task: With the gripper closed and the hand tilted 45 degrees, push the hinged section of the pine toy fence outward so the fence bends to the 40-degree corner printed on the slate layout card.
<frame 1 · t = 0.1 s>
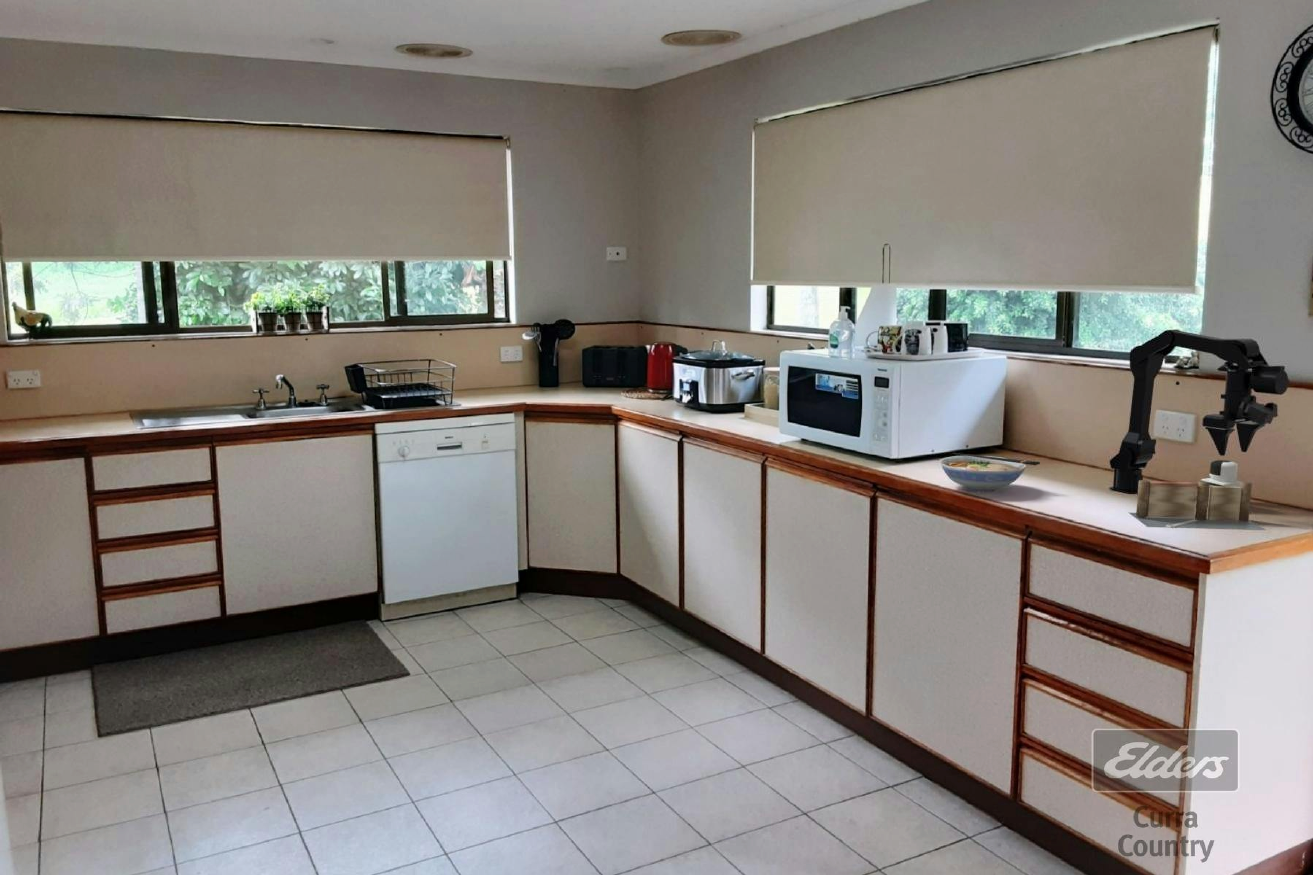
hand: (1233, 453, 253), 15 cm above the counter, tool pointing down, fingers open, 9 cm apart
fence gate: (1166, 499, 247), point 5 cm above the counter, hinge at 0.0°
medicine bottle: (1220, 508, 259), on the counter
fence fixed: (1200, 519, 247), resting on layout card
ramen bowl: (981, 489, 282), on the counter
layout card: (1194, 522, 245), on the counter
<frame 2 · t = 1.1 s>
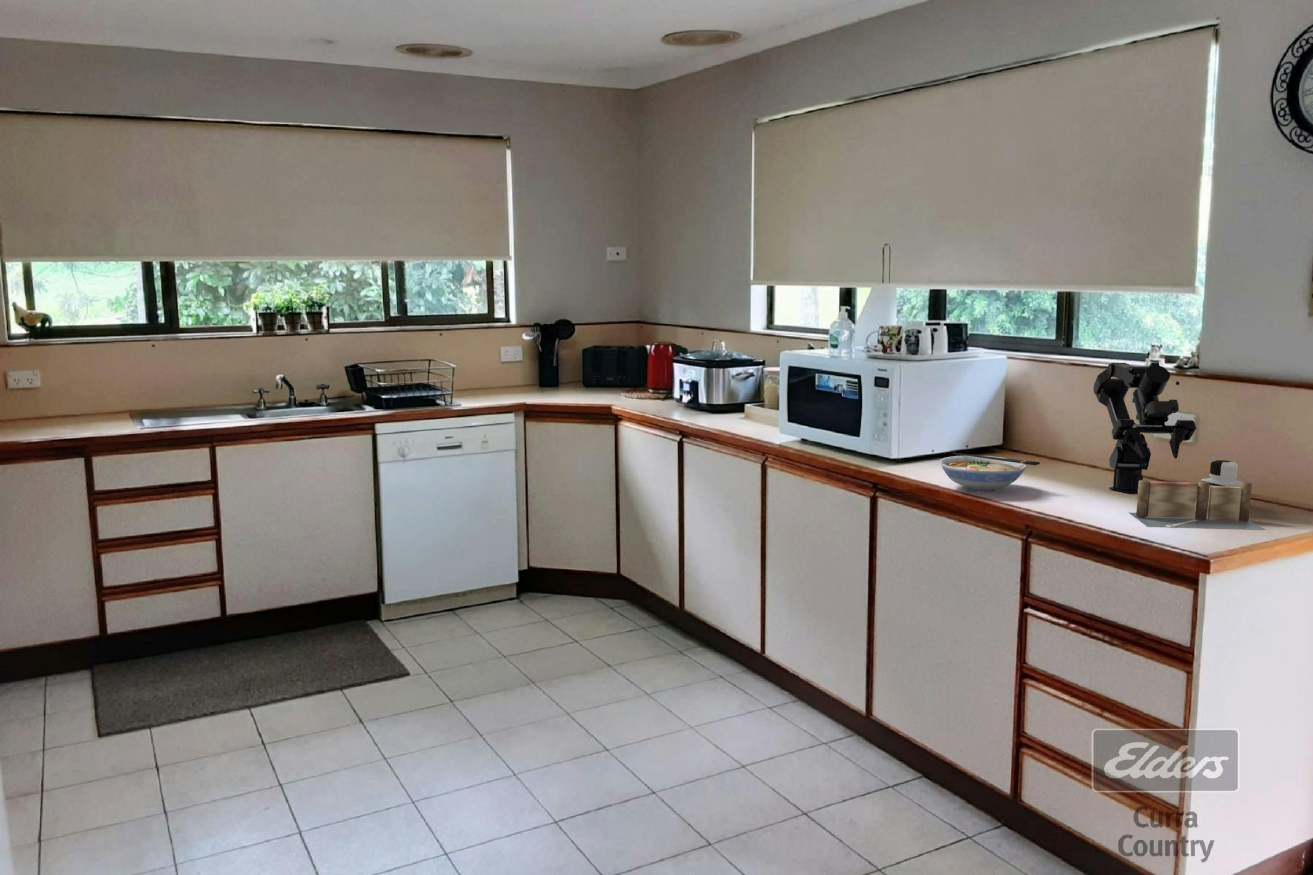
hand: (1159, 457, 255), 13 cm above the counter, tool tilted 45°, fingers open, 7 cm apart
nothing on the counter moved.
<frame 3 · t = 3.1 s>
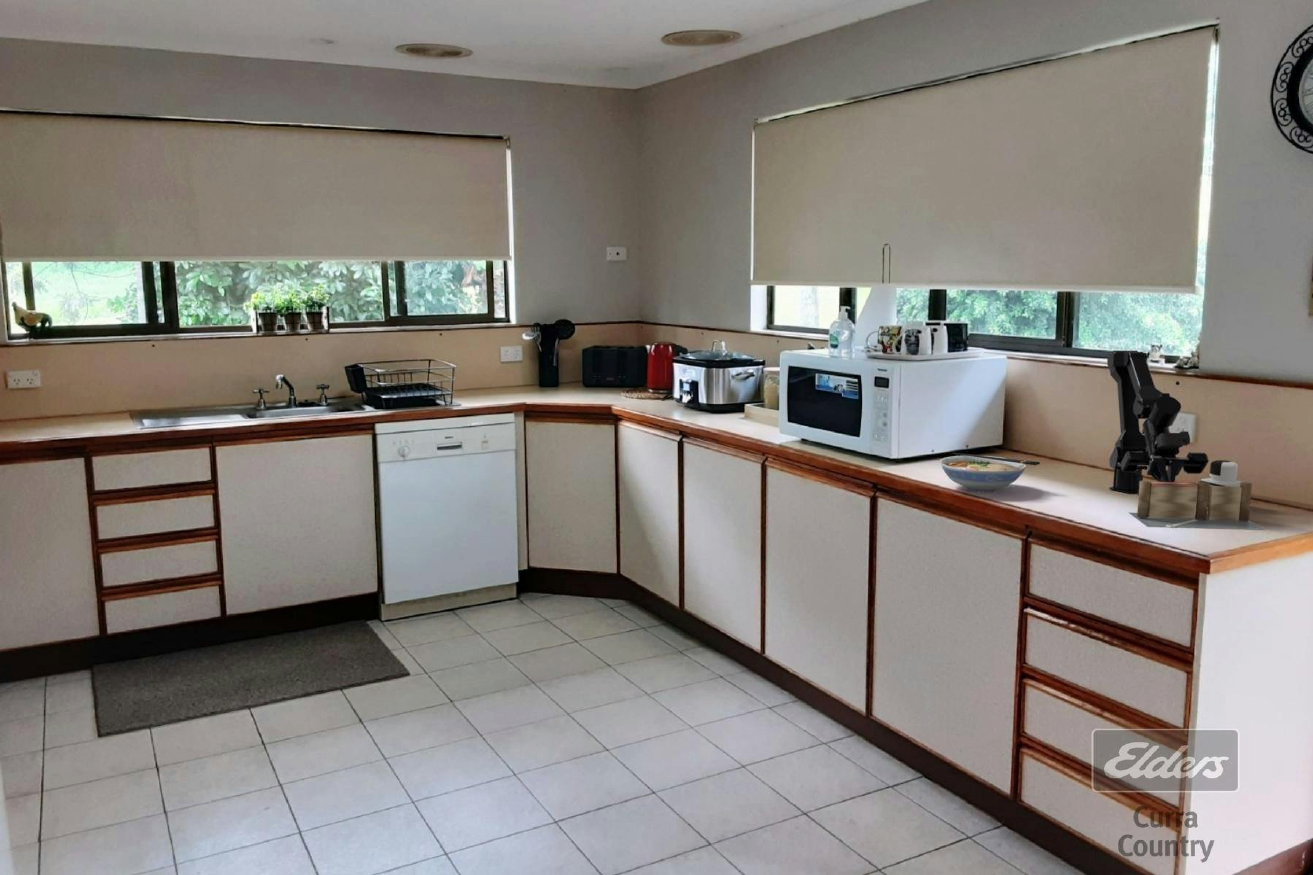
hand: (1170, 491, 247), 7 cm above the counter, tool tilted 45°, fingers closed, pressing on fence gate
fence gate: (1166, 499, 247), point 5 cm above the counter, hinge at 2.8°, touching gripper
everything else where it was.
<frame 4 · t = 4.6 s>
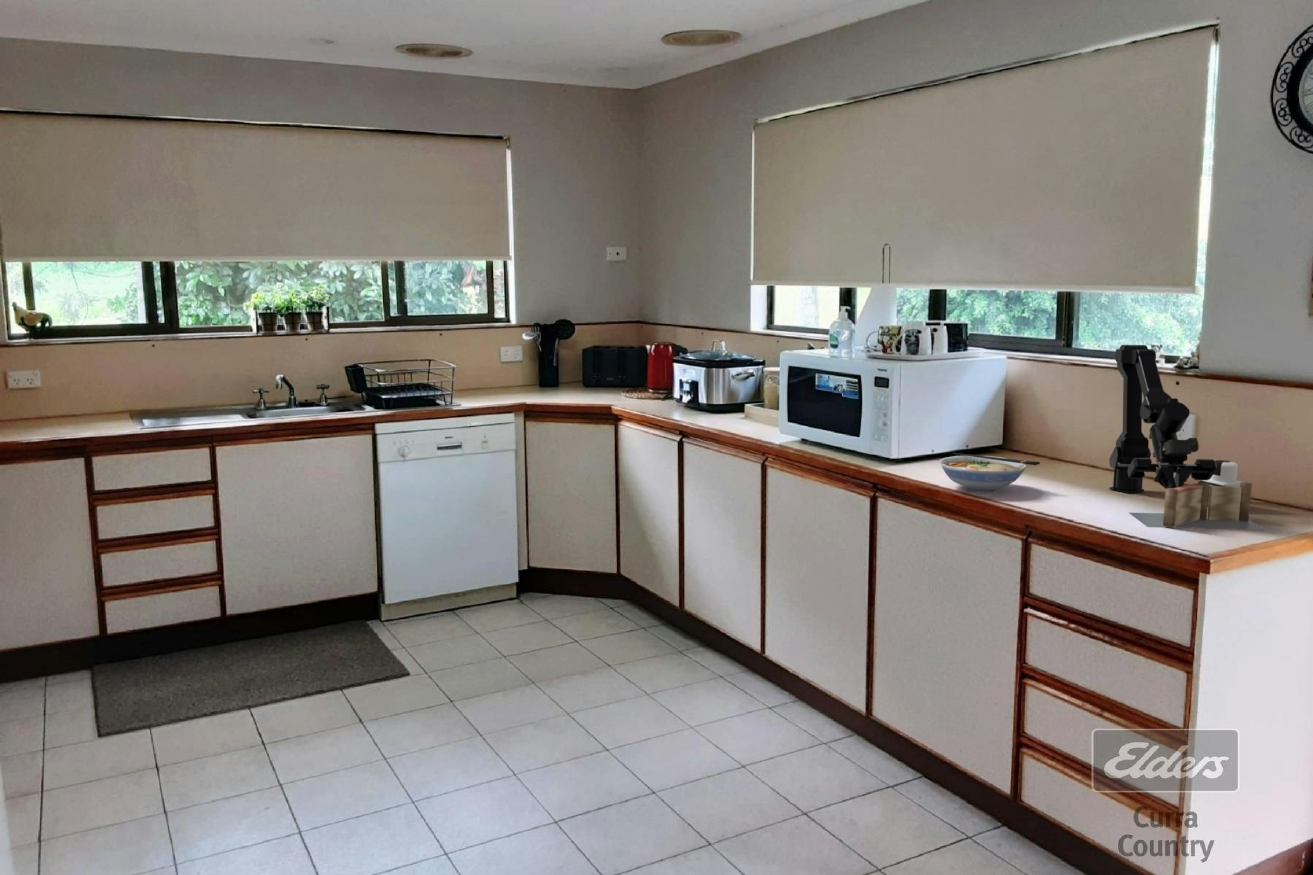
hand: (1178, 499, 242), 6 cm above the counter, tool tilted 45°, fingers closed
fence gate: (1182, 504, 241), point 5 cm above the counter, hinge at 40.5°, touching gripper
everything else where it was.
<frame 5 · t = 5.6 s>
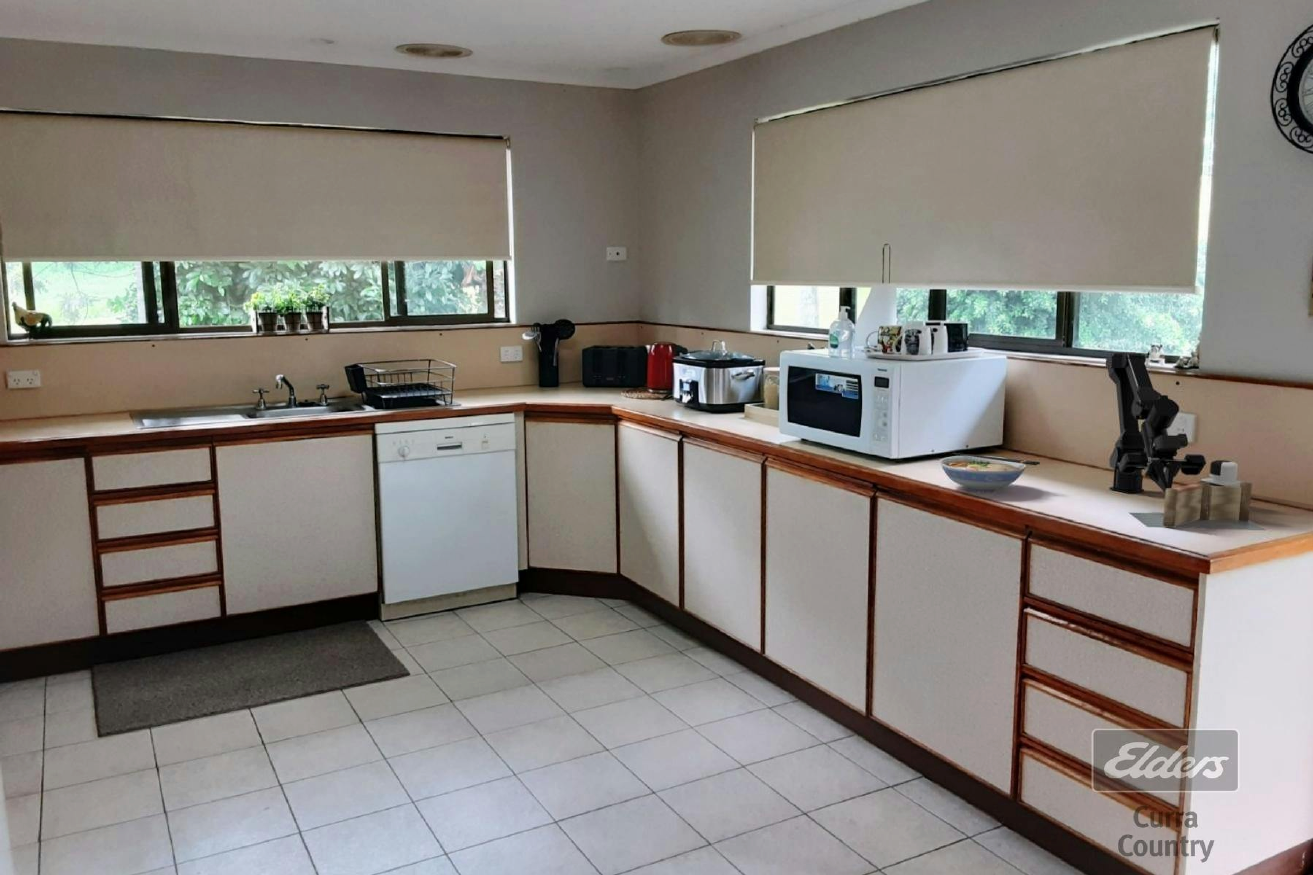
hand: (1168, 493, 249), 6 cm above the counter, tool tilted 45°, fingers closed
fence gate: (1182, 504, 241), point 5 cm above the counter, hinge at 40.5°
everything else where it was.
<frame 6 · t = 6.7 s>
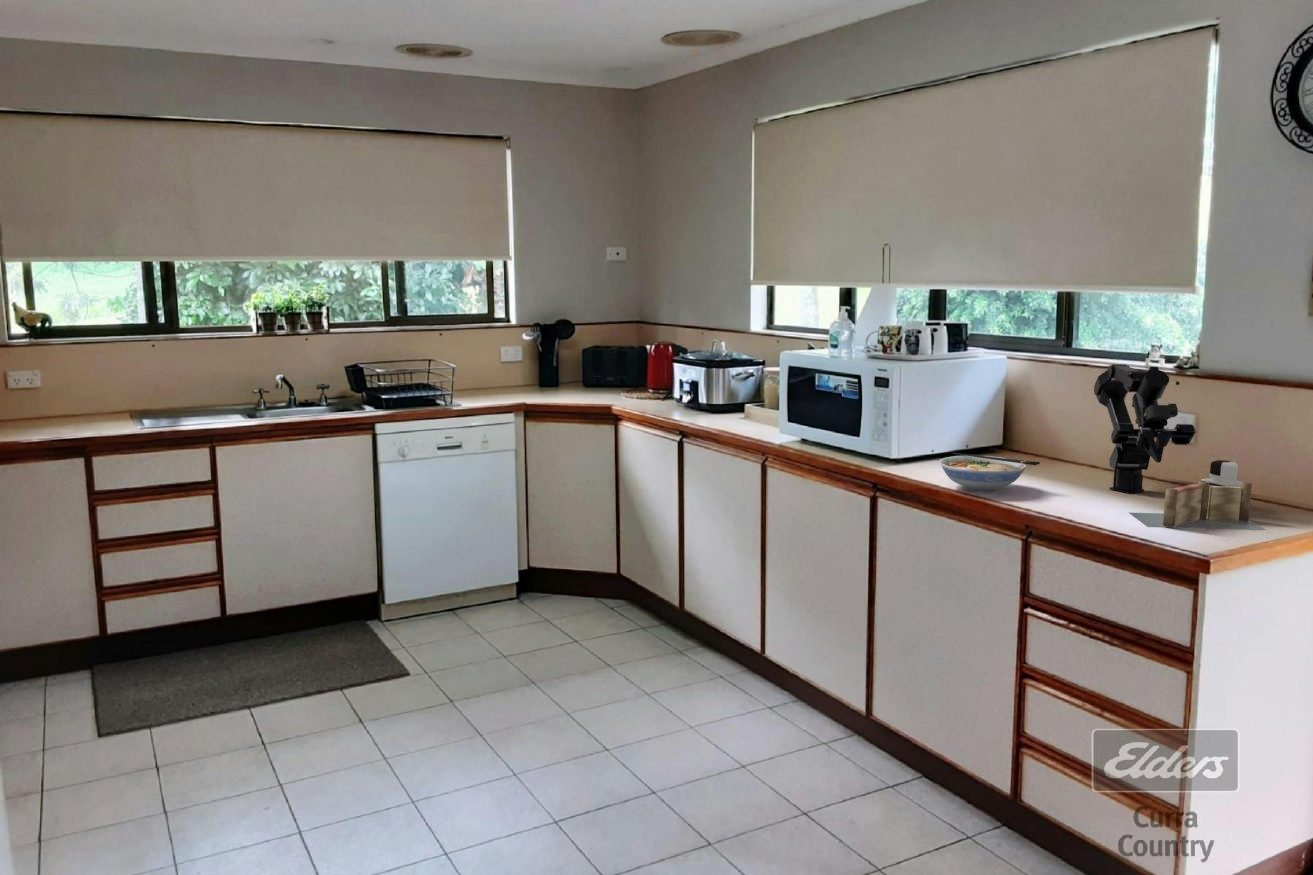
hand: (1159, 461, 255), 12 cm above the counter, tool tilted 45°, fingers closed
nothing on the counter moved.
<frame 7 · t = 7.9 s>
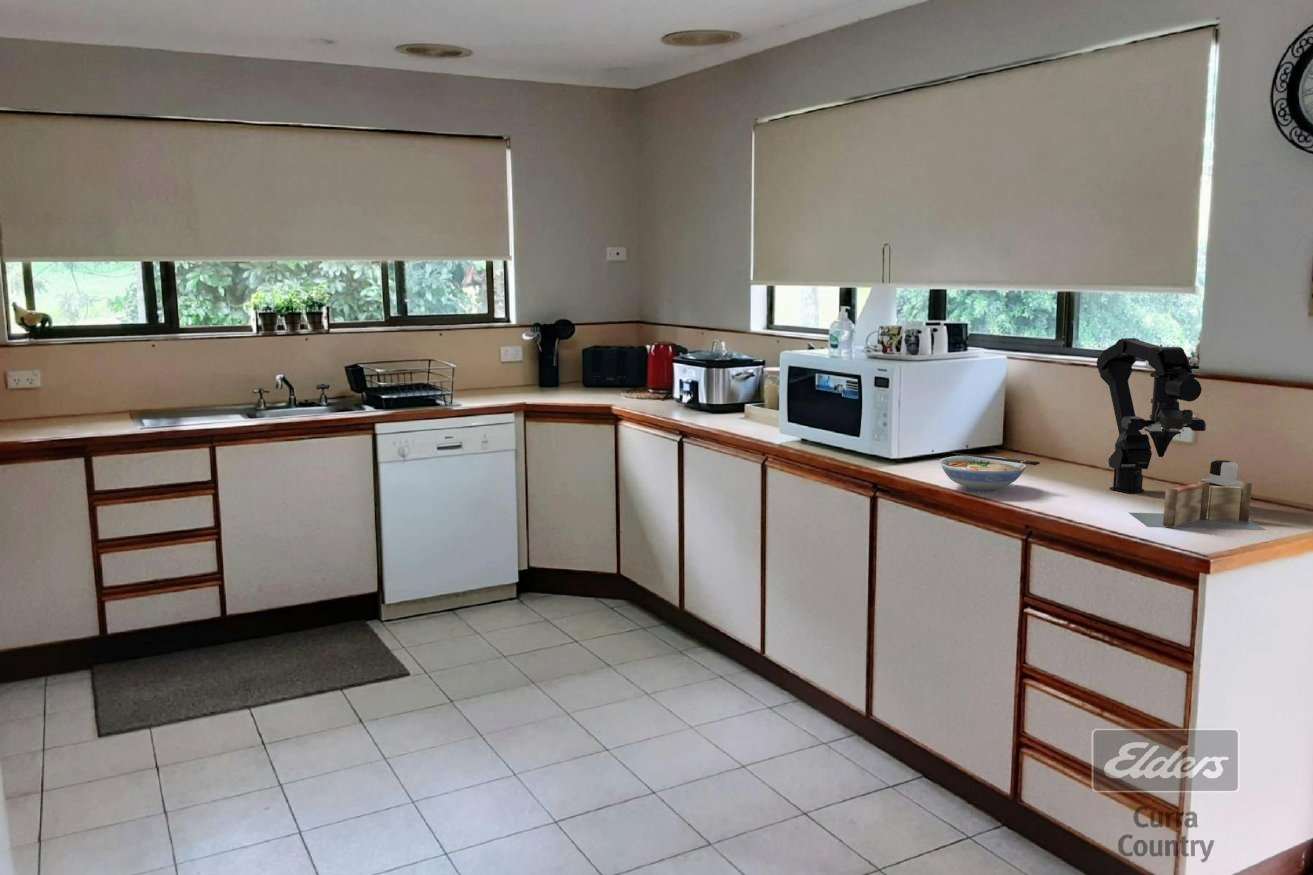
hand: (1160, 456, 263), 12 cm above the counter, tool pointing down, fingers closed
nothing on the counter moved.
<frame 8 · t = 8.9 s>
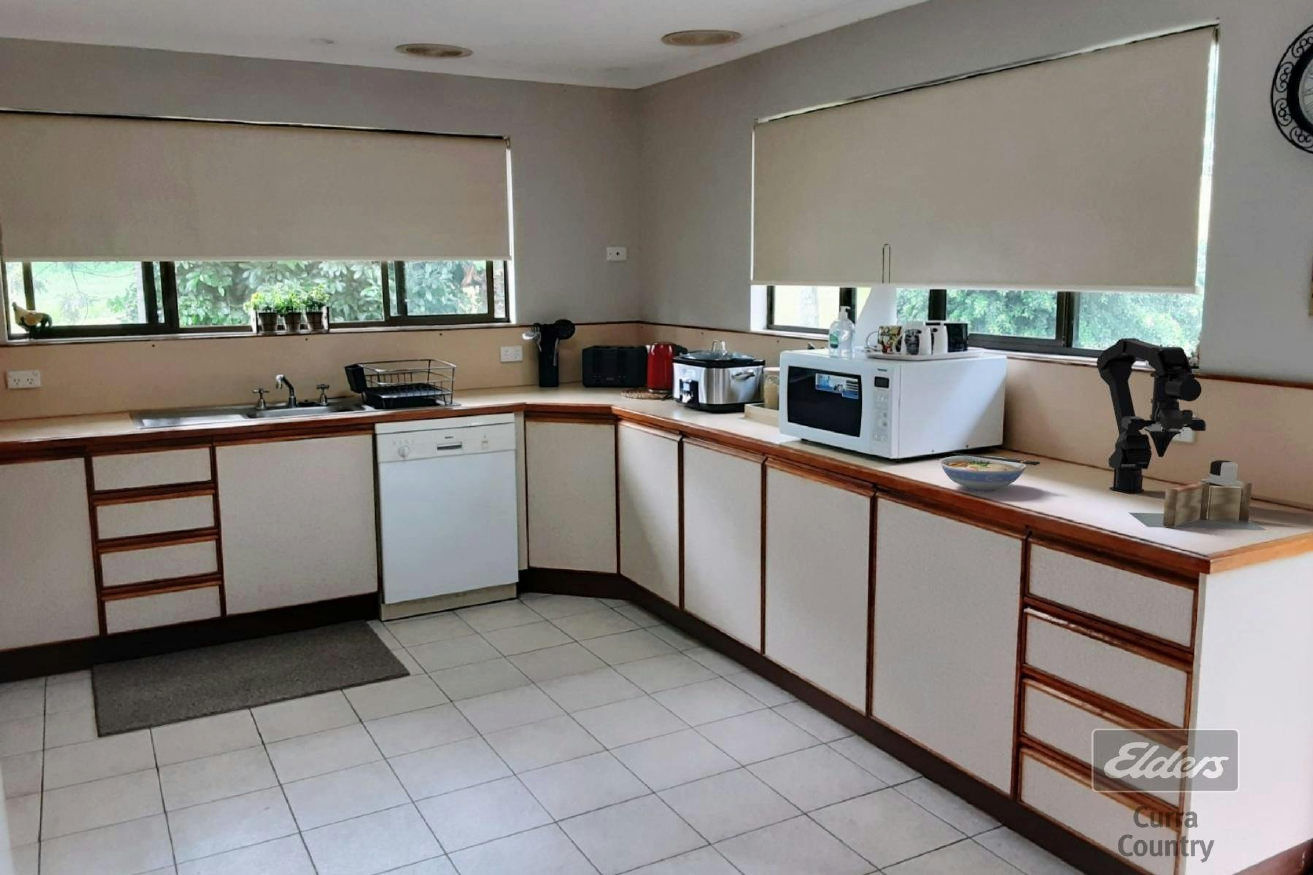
hand: (1160, 456, 263), 12 cm above the counter, tool pointing down, fingers closed
nothing on the counter moved.
at the end: fence gate at +40° (first picture: +0°); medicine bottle moved 0.2 cm from its start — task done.
